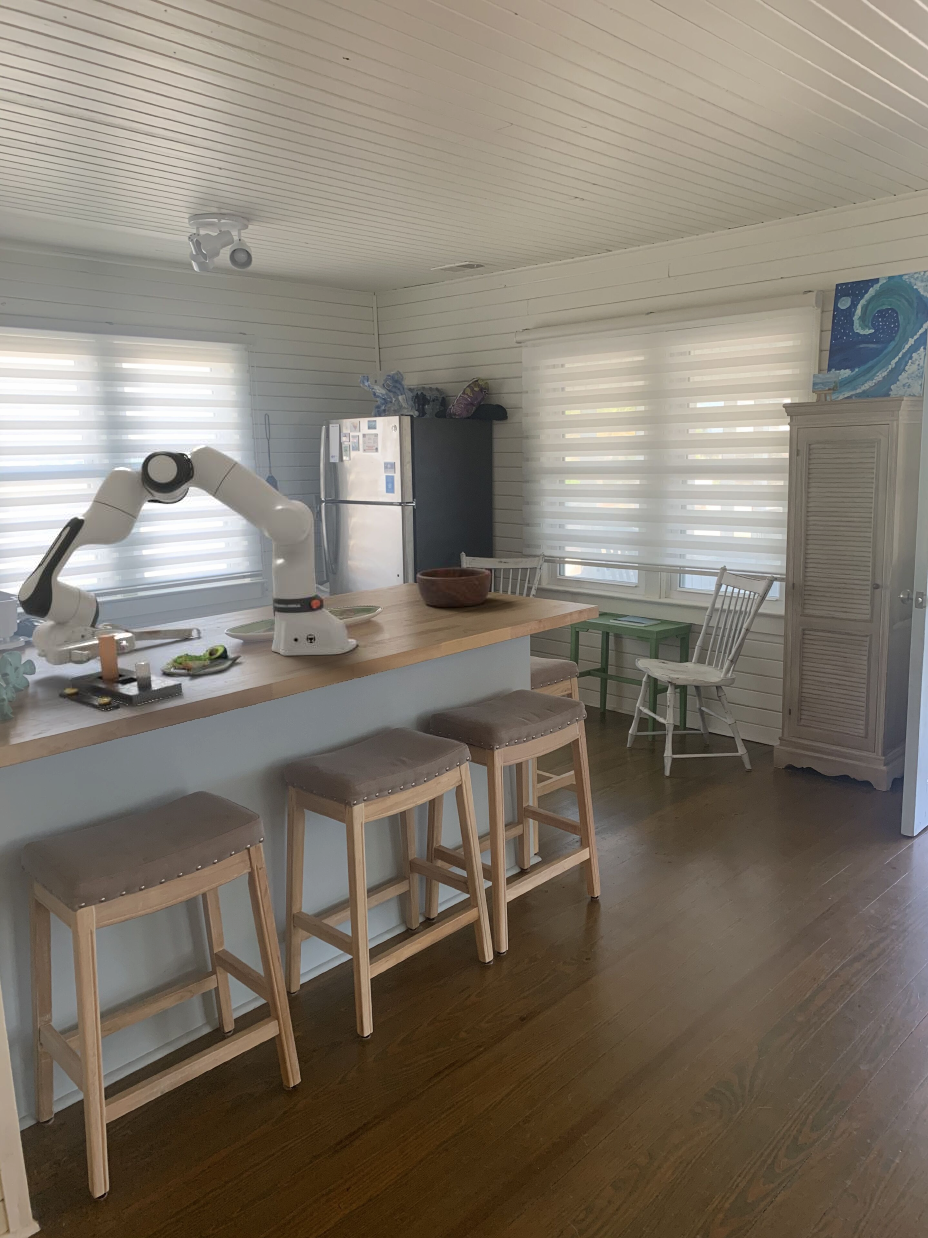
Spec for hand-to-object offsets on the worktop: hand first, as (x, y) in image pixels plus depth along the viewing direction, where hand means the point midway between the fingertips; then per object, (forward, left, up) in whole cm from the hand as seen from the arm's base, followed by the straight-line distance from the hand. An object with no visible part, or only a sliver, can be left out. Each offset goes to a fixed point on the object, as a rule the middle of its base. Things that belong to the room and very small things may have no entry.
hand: (108, 652), depth 205 cm
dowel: (0, 0, -8) cm, 8 cm away
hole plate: (-4, +5, -8) cm, 10 cm away
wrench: (+16, -43, -9) cm, 46 cm away
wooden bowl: (-55, -112, -9) cm, 126 cm away
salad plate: (-11, -20, -9) cm, 25 cm away
